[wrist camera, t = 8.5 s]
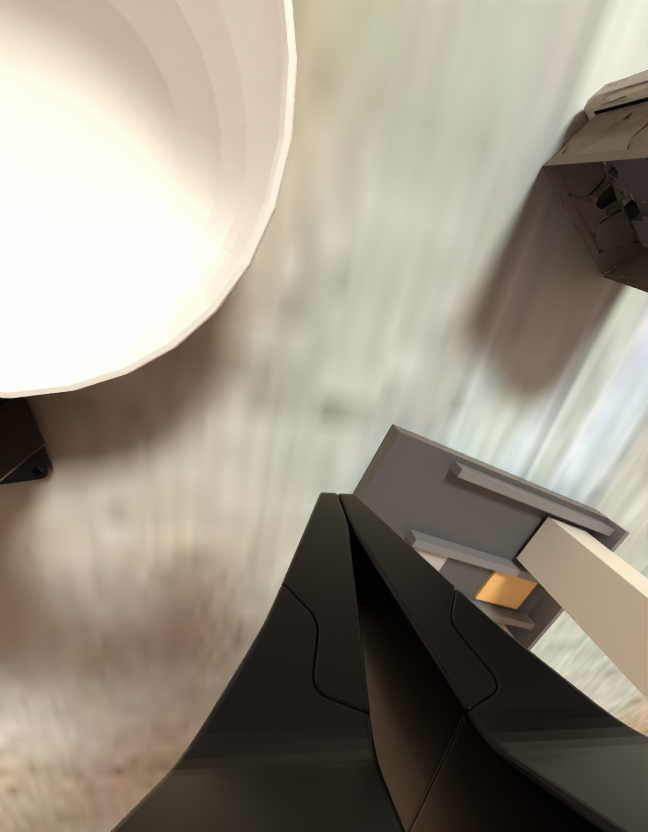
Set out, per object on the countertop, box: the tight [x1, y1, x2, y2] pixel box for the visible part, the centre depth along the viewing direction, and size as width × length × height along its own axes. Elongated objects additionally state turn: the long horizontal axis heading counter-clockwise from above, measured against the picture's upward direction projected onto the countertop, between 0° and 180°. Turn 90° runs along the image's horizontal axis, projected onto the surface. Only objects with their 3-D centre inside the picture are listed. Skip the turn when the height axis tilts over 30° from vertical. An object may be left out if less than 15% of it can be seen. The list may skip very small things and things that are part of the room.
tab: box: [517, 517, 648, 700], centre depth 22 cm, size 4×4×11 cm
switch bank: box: [353, 425, 629, 651], centre depth 26 cm, size 20×17×3 cm
